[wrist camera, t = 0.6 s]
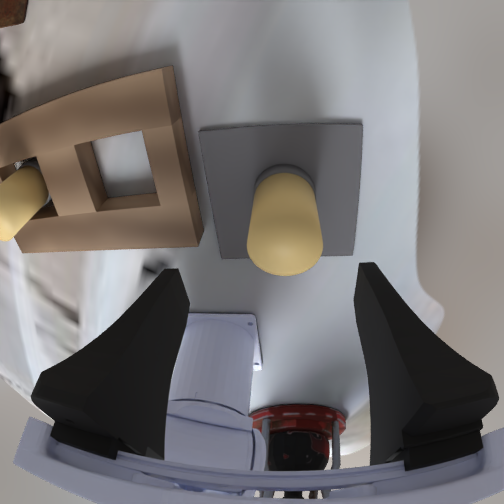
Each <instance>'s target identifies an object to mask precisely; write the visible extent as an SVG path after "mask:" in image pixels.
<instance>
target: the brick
mask: <svg viewBox="0 0 504 504" xmlns="http://www.w3.org/2000/svg"><path fill="white" fill-rule="evenodd" d="M27 2H28V0H0V28H3V27H8V26H13V25H18V24H21V23H24V20H25V14H26V8H27Z"/></svg>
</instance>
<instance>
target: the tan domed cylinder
mask: <svg viewBox="0 0 504 504" xmlns="http://www.w3.org/2000/svg"><path fill="white" fill-rule="evenodd" d="M51 199H52V198H51V196H50V193H49V190H48V188H47V185H46V183H45V180H44V177H43V174H42V172H41V169H40V166H39V163H38V160H37V158H32V159H30V160H29V161H27V162H26V163H24V164H23V165H22V166H20V167H19V169H18V170H17V171H16V172H15V173H13V174H12V175H11V176H9V177H8V178H7V179H6V180H4V181H3V182H2V183H1V184H0V240H2V241H10V240H11V239H12V238H13V237H14V236H15V235H16V234H17V232H18V231H19V230H20V229H21V228H22V227H23V226H24V225H25V224H26V223H27V222H28V221H29V220H30V219H31V218H32V217H33V215H34V214H35V213H36V212H37V211H38V210H39V209H40V208H41V207H43V206H45V205H46V204H47V203H48V202H49V201H50V200H51Z"/></svg>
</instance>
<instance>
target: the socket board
mask: <svg viewBox="0 0 504 504" xmlns="http://www.w3.org/2000/svg"><path fill="white" fill-rule="evenodd" d="M141 130H142V133H143V138H144V142H145V146H146V151H147V155H148V159H149V163H150V167H151V171H152V175H153V179H154V183H155V187H156V190H157V193H149V194H139V195H130V196H121V197H113V198H108V197H107V194H106V191H105V188H104V185H103V182H102V178H101V175H100V172H99V169H98V166H97V162H96V159H95V156H94V152H93V149H92V145H91V142H90V141H93V140H97V139H102V138H106V137H111V136H115V135H120V134H125V133H130V132H135V131H141ZM34 156H36V157H37V160H38V163H39V166H40V169H41V172H42V174H43V177H44V180H45V183H46V185H47V188H48V190H49V193H50V196H51V198H52V201H53V203H54V206H48V207H42V208H40V209H39V210H38V211H37V212H36V213H35V214H34V215H33V217H32V218H31V219H30V220H29V221H28V222H27V223H26V224H25V225H24V226H23V227H22V228H21V229H20V230H19V231H18V232H17V234H16V235H15V236H14V238H15V240H16V242H17V244H18V246H19V248H20V250H21V251H22V253H40V252H65V251H91V250H118V249H147V248H176V247H198V246H199V243H200V240H201V237H202V234H203V232H204V228H203V224H202V219H201V214H200V209H199V205H198V200H197V195H196V190H195V185H194V180H193V175H192V170H191V165H190V160H189V155H188V149H187V144H186V139H185V133H184V128H183V122H182V117H181V111H180V106H179V100H178V94H177V88H176V82H175V76H174V70H173V66H168V67H163V68H158V69H154V70H149V71H145V72H141V73H137V74H133V75H129V76H125V77H122V78H118V79H114V80H111V81H107V82H104V83H101V84H97V85H94V86H91V87H88V88H85V89H82V90H79V91H76V92H73V93H70V94H68V95H65V96H62V97H60V98H57V99H54V100H52V101H49V102H47V103H44V104H42V105H39V106H37V107H35V108H32V109H30V110H28V111H25V112H23V113H21V114H19V115H17V116H14V117H12V118H10V119H8V120H6V121H4V122H2V123H0V184H1V183H2V182H3V181H4V180H6V179H7V178H8V177H9V176H11V175H12V174H13V173H15V172H16V169H15V166H14V163H16V162H19V161H22V160H25V159H28V158H31V157H34Z"/></svg>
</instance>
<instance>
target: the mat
mask: <svg viewBox="0 0 504 504" xmlns="http://www.w3.org/2000/svg"><path fill="white" fill-rule="evenodd" d="M198 133H199V139H200V144H201V150H202V156H203V162H204V167H205V173H206V179H207V184H208V190H209V195H210V201H211V206H212V211H213V217H214V222H215V227H216V232H217V238H218V243H219V248H220V253H221V258H222V259H239V258H250V257H249V254H248V251H247V239H248V233H249V226H250V220H251V214H252V207H253V201H252V197H253V191H254V185H255V182H256V180H257V178H258V176H259V175H260V174H261V173H262V172H263V171H264V170H265V169H267V168H269V167H271V166H273V165H277V164H292V165H295V166H298V167H300V168H302V169H303V170H304V171H306V172H307V173H308V174H309V176H310V177H311V179H312V180H313V183H314V187H315V191H316V197H317V202H316V205H317V211H318V216H319V222H320V228H321V234H322V240H323V251H322V254H321V256H353V249H354V241H355V232H356V222H357V212H358V201H359V189H360V175H361V159H362V137H363V125H362V124H281V125H262V126H247V127H234V128H223V129H213V130H204V131H199V132H198Z"/></svg>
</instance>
